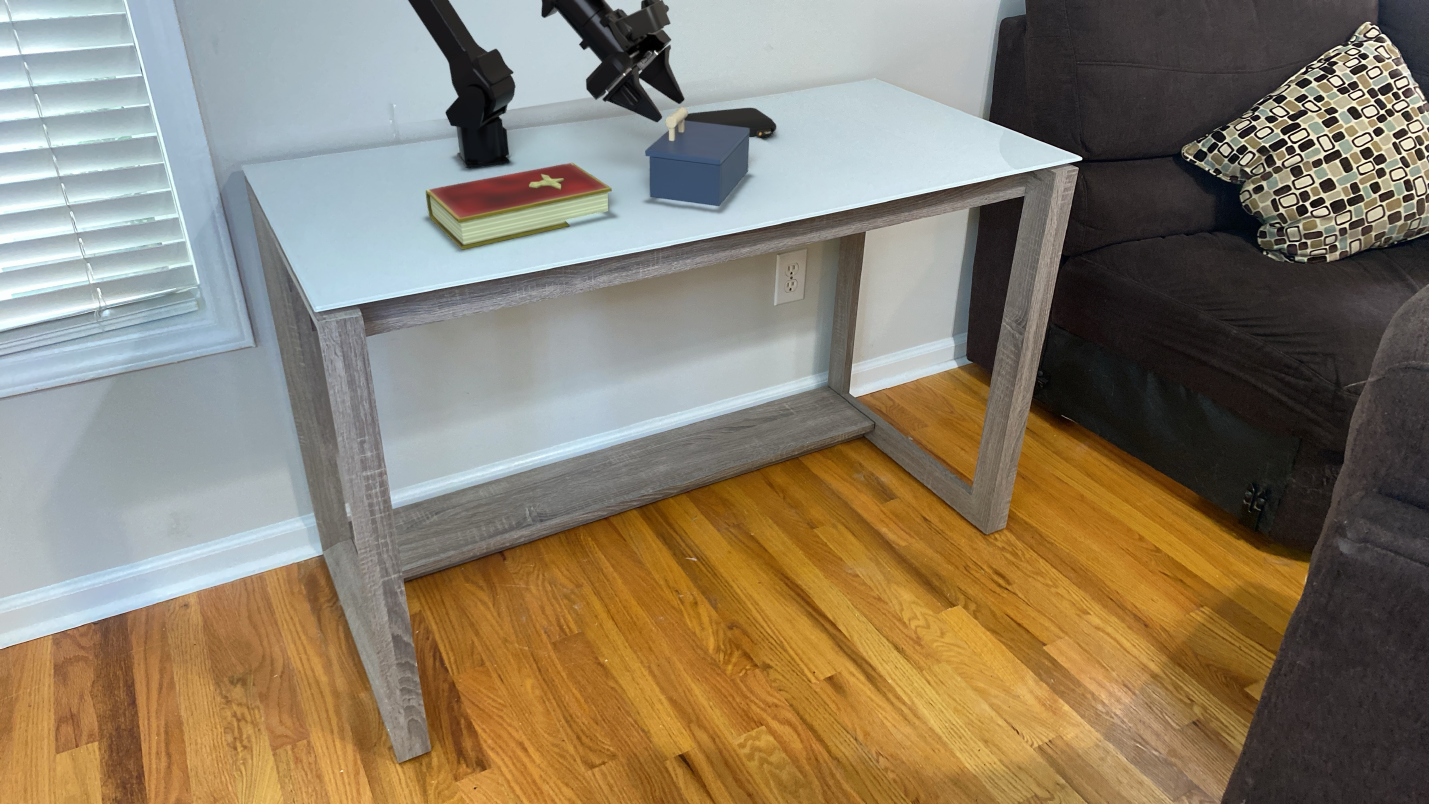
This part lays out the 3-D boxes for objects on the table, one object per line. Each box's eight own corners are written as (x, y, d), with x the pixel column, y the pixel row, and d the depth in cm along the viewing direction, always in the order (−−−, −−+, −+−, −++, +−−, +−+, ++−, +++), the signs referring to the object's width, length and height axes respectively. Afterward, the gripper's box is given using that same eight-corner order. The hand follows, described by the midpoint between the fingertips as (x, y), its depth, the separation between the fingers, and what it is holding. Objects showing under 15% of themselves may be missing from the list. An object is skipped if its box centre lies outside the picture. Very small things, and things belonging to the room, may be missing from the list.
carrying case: (699, 150, 152) (783, 140, 157) (699, 130, 151) (784, 122, 156) (675, 130, 161) (756, 121, 165) (675, 111, 159) (757, 103, 164)
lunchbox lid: (645, 156, 130) (644, 125, 128) (680, 125, 142) (680, 96, 140) (720, 165, 128) (720, 134, 125) (749, 133, 139) (750, 104, 137)
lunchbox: (650, 202, 134) (649, 157, 130) (683, 168, 145) (684, 126, 142) (718, 211, 131) (720, 165, 128) (747, 176, 143) (749, 133, 139)
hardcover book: (429, 217, 127) (424, 186, 125) (572, 188, 137) (570, 159, 135) (462, 249, 119) (457, 217, 117) (612, 216, 129) (611, 186, 127)
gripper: (603, -10, 118) (689, 90, 121) (656, -34, 133) (731, 56, 136) (550, 51, 124) (632, 144, 128) (606, 22, 139) (678, 106, 143)
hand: (671, 110), depth 133 cm, fingers open, 9 cm apart
